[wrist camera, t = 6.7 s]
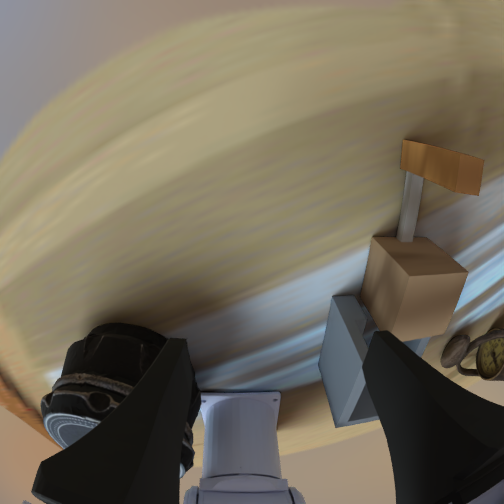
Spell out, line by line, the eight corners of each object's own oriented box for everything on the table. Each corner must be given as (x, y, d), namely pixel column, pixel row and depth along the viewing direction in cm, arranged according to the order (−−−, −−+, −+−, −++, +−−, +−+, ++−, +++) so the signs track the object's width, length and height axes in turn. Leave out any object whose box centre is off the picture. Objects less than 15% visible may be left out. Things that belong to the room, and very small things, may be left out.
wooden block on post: (411, 292, 21) (447, 338, 16) (359, 296, 21) (390, 349, 16) (441, 147, 16) (499, 164, 11) (383, 136, 16) (439, 148, 11)
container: (63, 301, 21) (8, 385, 12) (208, 327, 22) (197, 439, 13) (91, 391, 26) (65, 462, 17) (201, 412, 27) (196, 493, 18)
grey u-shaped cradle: (406, 352, 25) (435, 403, 19) (318, 364, 24) (335, 427, 18) (431, 288, 22) (474, 339, 15) (332, 296, 21) (362, 363, 15)
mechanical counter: (484, 402, 25) (540, 358, 19) (448, 408, 21) (526, 351, 15) (468, 360, 30) (519, 316, 25) (428, 353, 26) (495, 294, 21)
